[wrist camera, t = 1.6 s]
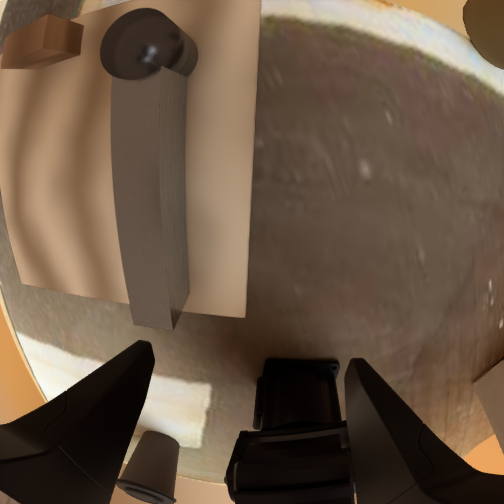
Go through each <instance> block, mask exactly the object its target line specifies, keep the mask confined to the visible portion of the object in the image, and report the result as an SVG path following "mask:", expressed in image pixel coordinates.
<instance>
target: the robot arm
mask: <svg viewBox="0 0 504 504" xmlns="http://www.w3.org/2000/svg"><path fill="white" fill-rule="evenodd" d="M154 364H155V357H154V353H153V349H152V345H151V343H150V342H149V341H143V340H138V341H137V342H135V343H134V344H132V345H131V346H129V347H128V348H127V349H125V350H124V351H122V352H121V353H119V354H118V355H116V356H115V357H114V358H112V359H111V360H109V361H108V362H106V363H105V364H104V365H102V366H101V367H99V368H98V369H96V370H95V371H93V372H92V373H91V374H89V375H88V376H86V377H85V378H83V379H82V380H80V381H79V382H77V383H76V384H75V385H73V386H72V387H70V388H69V389H67V391H64V392H63V393H61V394H60V395H58V396H57V397H55V398H54V399H52V400H51V401H49V402H48V403H46V404H44V405H42V406H41V407H39V408H37V409H35V410H33V411H31V412H30V413H28V414H26V415H24V416H22V417H20V418H18V419H16V420H14V421H12V422H10V423H7V424H2V425H0V504H110V501H111V496H112V494H113V490H114V487H115V484H116V482H117V479H118V476H119V473H120V470H121V467H122V463H123V461H124V458H125V455H126V452H127V450H128V447H129V444H130V441H131V438H132V436H133V433H134V430H135V427H136V425H137V422H138V419H139V416H140V414H141V411H142V408H143V406H144V403H145V400H146V396H147V392H148V388H149V384H150V380H151V376H152V372H153V368H154ZM333 366H335V367H333ZM339 369H340V364H339V362H338V361H317V360H290V359H273V358H269V359H266V360H265V362H264V371H263V377H259V378H258V379H257V387H256V398H255V409H254V420H253V428H254V429H255V430H260V431H248V430H247V431H240V434H239V437H238V439H237V441H236V444H235V447H234V450H233V453H232V456H231V459H230V462H229V465H228V468H227V471H226V476H225V478H224V482H225V484H226V485H227V486H228V492H229V495H230V498H231V500H232V501H233V502H235V504H355V502H354V493H356V497H357V504H504V475H497V474H489V473H484V472H481V471H478V470H476V469H474V468H473V467H472V466H470V465H469V464H468V463H467V462H465V461H464V460H463V459H462V458H461V457H459V456H458V455H457V454H456V453H455V452H454V451H452V450H451V449H450V448H449V447H448V446H447V445H446V444H445V443H443V442H442V441H441V440H440V439H439V438H438V437H437V436H436V435H435V434H434V433H433V432H432V431H431V430H430V429H429V428H428V427H427V425H426V424H425V423H423V421H422V420H421V419H420V418H419V417H418V416H417V415H416V414H415V413H414V412H413V411H412V409H411V408H410V407H409V406H408V405H407V404H406V403H405V402H404V401H403V400H402V399H401V398H400V397H399V396H398V394H397V393H396V392H395V391H394V390H393V389H392V388H391V387H390V386H389V385H388V384H387V383H386V382H385V381H384V380H383V378H382V377H381V376H380V375H379V374H378V373H377V372H376V371H375V370H374V369H373V368H372V367H371V366H370V365H369V364H368V363H367V361H366V360H365V359H363V358H352V359H351V360H350V362H349V365H348V368H347V370H346V373H345V378H344V383H345V404H346V420H344V421H342V419H341V412H340V405H339V399H338V393H337V386H336V378H337V375H338V372H339Z"/></svg>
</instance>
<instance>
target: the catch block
mask: <svg viewBox="0 0 504 504" xmlns="http://www.w3.org/2000/svg"><path fill="white" fill-rule="evenodd" d="M83 29H84V25H82V24H79V23H76V22H73V21H70V20H67V19H64V18H60V17H57V16H54V15H50V14H47V15H45V16H43V17H41V18H39V19H37V20H35V21H33V22H31V23H29V24H28V25H26V26H24V27H22V28H20V29H19V30H17V31H15V32H13V33H12V34H10V35H8V36H7V37H5V41H4V47H3V54H2V61H1V69H25V70H39V69H42V68H44V67H47V66H50V65H52V64H55V63H58V62H61V61H64V60H67V59H70V58H73V57H76V56H79V55H80V53H81V44H82V36H83Z"/></svg>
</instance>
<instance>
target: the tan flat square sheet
mask: <svg viewBox="0 0 504 504" xmlns="http://www.w3.org/2000/svg"><path fill="white" fill-rule="evenodd" d="M138 8H153V9H157V10H159V11H161V12H162V13H164V14H165V15H166V16H167V17H168V18H170V19H171V20H172V21H173V22H174V23H175V24H176V25H178V26H179V27H180V28H181V29H182V30H183V31H184V32H185V33H186V34H188V35H189V36H190V37H191V38H192V39H193V40H194V42H195V43H196V45H197V49H198V61H197V64H196V66H195V68H194V70H193V72H192V73H191V74H190V75H189V76H188V77H187V97H186V131H185V193H186V229H187V251H188V269H189V285H190V295H189V297H188V299H187V301H186V304H185V306H184V308H183V310H182V311H183V312H192V313H200V314H210V315H219V316H229V317H240V318H245V314H246V301H247V279H248V257H249V236H250V215H251V194H252V173H253V152H254V132H255V112H256V93H257V73H258V54H259V35H260V16H261V0H133V1H129V2H125V3H121V4H117V5H114V6H110V7H107V8H104V9H100V10H97V11H94V12H91V13H88V14H85V15H83V16H80V17H77V18H74V19H72V20H70V21H73V22H76V23H79V24H82V25H84V29H83V36H82V44H81V53H80V55H79V56H76V57H73V58H70V59H67V60H64V61H61V62H58V63H55V64H52V65H50V66H47V67H44V68H42V69H39V70H25V69H1V61H2V54H3V53H2V54H1V55H0V188H1V195H2V201H3V207H4V213H5V218H6V223H7V228H8V233H9V237H10V241H11V245H12V249H13V253H14V257H15V261H16V264H17V268H18V271H19V274H20V278H21V281H22V283H23V284H27V285H32V286H36V287H41V288H45V289H50V290H55V291H59V292H64V293H69V294H75V295H80V296H85V297H91V298H96V299H102V300H108V301H114V302H120V303H126V304H129V299H128V294H127V289H126V283H125V278H124V272H123V266H122V260H121V253H120V247H119V239H118V232H117V223H116V215H115V205H114V194H113V180H112V164H111V128H110V117H111V82H112V75H110V74H109V73H108V72H107V71H106V70H105V69H104V67H103V66H102V63H101V59H100V46H101V42H102V39H103V37H104V35H105V33H106V31H107V30H108V28H109V27H110V26H111V25H112V23H113V22H115V21H116V20H117V19H118V18H119V17H120V16H122V15H123V14H125V13H127V12H129V11H132V10H135V9H138Z"/></svg>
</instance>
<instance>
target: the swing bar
mask: <svg viewBox="0 0 504 504" xmlns="http://www.w3.org/2000/svg"><path fill="white" fill-rule="evenodd" d="M100 59H101V63H102V66H103V67H104V69H105V70H106V71H107V72H108V73H109V74H110V75H112V82H111V117H110V128H111V164H112V180H113V194H114V205H115V215H116V223H117V232H118V239H119V247H120V253H121V260H122V266H123V272H124V278H125V283H126V289H127V294H128V299H129V304H130V308H131V313H132V318H133V322H134V325H139V326H145V327H151V328H157V329H164V330H170V331H173V330H174V328H175V326H176V323H177V321H178V319H179V317H180V314H181V312H182V310H183V308H184V306H185V304H186V301H187V299H188V297H189V295H190V285H189V269H188V251H187V229H186V193H185V131H186V97H187V77H188V76H189V75H190V74H191V73H192V72H193V70H194V68H195V66H196V64H197V61H198V49H197V45H196V43H195V42H194V40H193V39H192V38H191V37H190V36H189V35H188V34H186V33H185V32H184V31H183V30H182V29H181V28H180V27H179V26H178V25H176V24H175V23H174V22H173V21H172V20H171V19H170V18H168V17H167V16H166V15H165V14H164V13H162V12H161V11H159V10H157V9H153V8H138V9H135V10H132V11H129V12H127V13H125V14H123V15H122V16H120V17H119V18H118V19H117V20H116V21H115V22H113V23H112V25H111V26H110V27H109V28H108V30H107V31H106V33H105V35H104V37H103V39H102V42H101V46H100Z"/></svg>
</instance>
